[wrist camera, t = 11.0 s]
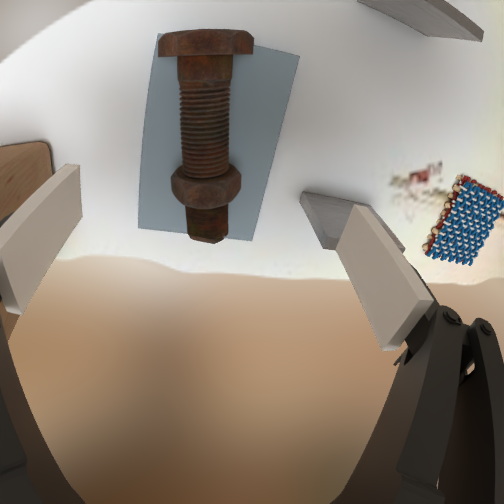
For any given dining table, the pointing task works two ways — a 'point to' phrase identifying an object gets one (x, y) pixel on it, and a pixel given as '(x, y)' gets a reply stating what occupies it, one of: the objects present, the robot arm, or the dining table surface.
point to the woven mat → (465, 222)
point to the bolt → (205, 126)
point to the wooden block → (20, 190)
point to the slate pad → (240, 136)
